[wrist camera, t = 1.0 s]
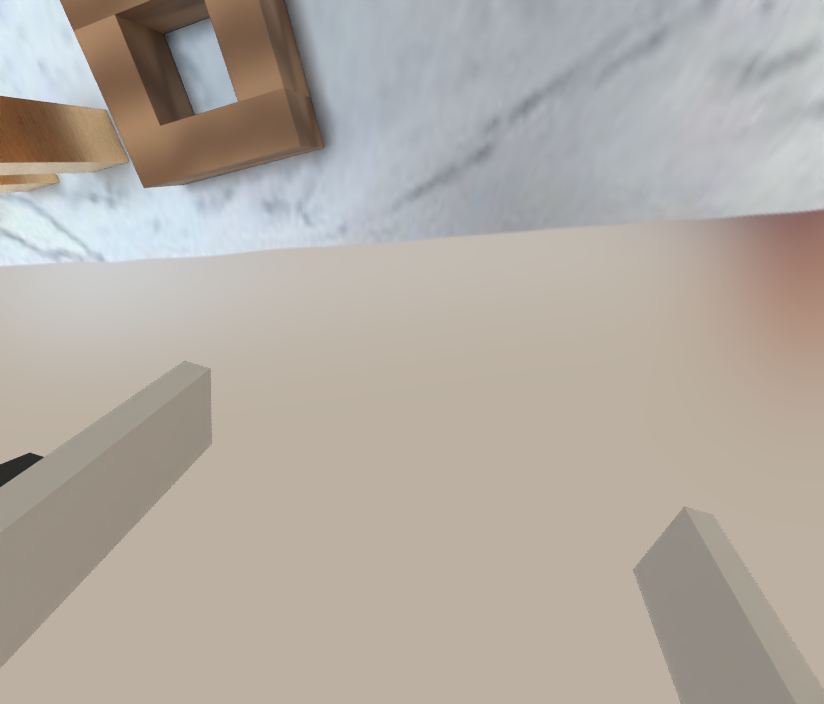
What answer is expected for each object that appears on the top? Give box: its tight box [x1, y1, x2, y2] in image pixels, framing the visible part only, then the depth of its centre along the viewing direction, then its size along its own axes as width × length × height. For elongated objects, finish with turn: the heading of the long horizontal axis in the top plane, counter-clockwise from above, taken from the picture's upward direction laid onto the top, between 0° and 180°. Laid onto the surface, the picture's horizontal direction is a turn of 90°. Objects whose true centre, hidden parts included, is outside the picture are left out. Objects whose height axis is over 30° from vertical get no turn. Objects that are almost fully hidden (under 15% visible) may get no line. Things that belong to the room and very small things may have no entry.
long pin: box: [0, 96, 129, 175], centre depth 28 cm, size 4×4×14 cm
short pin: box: [0, 174, 60, 193], centre depth 34 cm, size 4×4×5 cm
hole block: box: [60, 0, 324, 188], centre depth 28 cm, size 14×14×4 cm
